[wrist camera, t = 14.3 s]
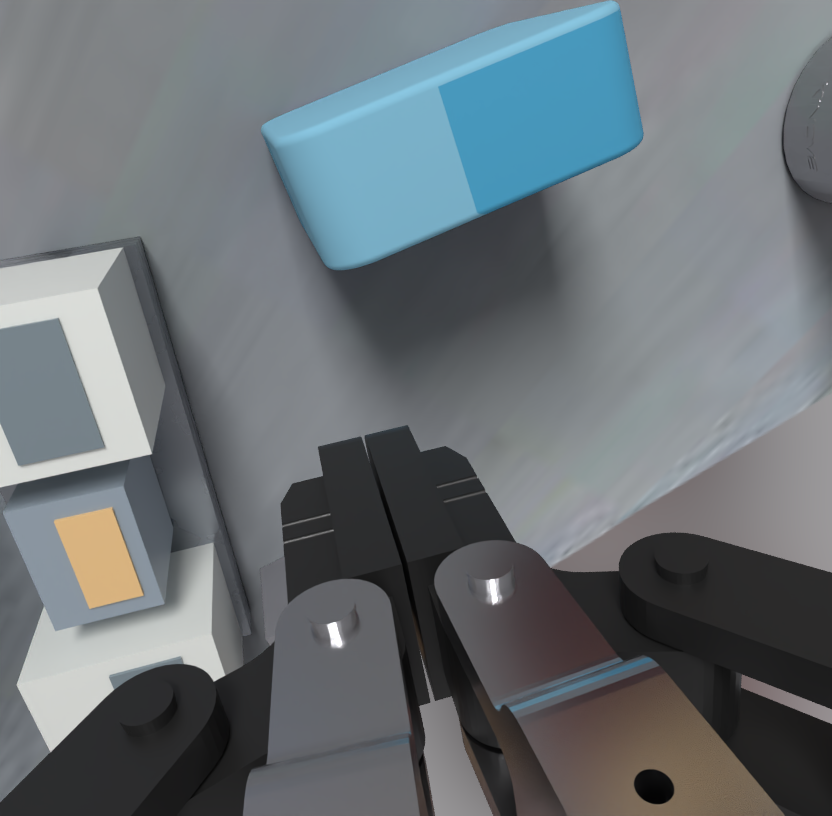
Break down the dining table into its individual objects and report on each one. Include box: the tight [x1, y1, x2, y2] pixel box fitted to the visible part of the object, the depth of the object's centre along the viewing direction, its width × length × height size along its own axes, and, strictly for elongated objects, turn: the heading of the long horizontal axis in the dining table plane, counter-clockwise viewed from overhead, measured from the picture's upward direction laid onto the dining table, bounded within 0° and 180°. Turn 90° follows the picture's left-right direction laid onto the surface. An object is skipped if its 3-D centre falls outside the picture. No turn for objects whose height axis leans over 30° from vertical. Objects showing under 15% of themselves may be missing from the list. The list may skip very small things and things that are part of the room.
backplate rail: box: [0, 237, 251, 637], centre depth 35 cm, size 9×22×2 cm, turn 7°
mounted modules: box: [0, 247, 243, 752], centre depth 31 cm, size 8×22×7 cm, turn 7°
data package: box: [261, 1, 643, 270], centre depth 28 cm, size 12×4×12 cm, turn 110°
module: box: [3, 455, 173, 631], centre depth 32 cm, size 5×6×6 cm
